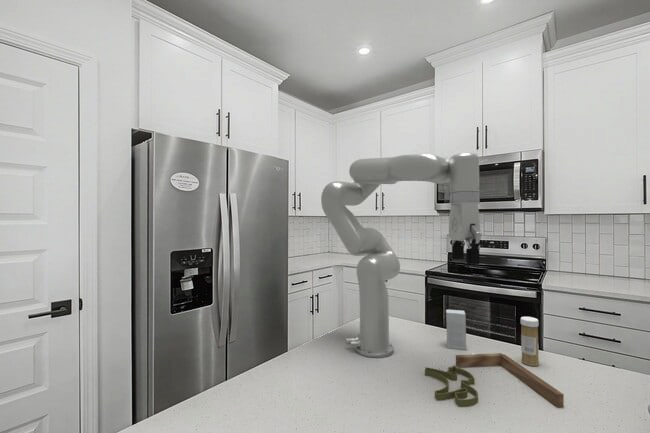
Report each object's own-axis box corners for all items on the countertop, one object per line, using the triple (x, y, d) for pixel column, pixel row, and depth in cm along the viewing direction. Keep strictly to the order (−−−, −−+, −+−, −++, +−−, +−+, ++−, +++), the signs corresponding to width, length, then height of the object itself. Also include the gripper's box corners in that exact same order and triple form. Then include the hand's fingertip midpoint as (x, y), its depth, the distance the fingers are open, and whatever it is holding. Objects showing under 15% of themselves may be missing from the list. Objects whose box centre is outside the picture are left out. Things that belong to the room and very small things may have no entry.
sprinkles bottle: (541, 364, 97) (541, 318, 97) (534, 368, 95) (534, 321, 95) (525, 358, 101) (525, 315, 101) (518, 362, 99) (517, 317, 99)
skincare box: (465, 345, 112) (464, 310, 112) (466, 350, 108) (465, 314, 108) (446, 343, 114) (446, 309, 114) (446, 348, 110) (446, 312, 110)
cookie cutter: (422, 371, 95) (422, 364, 95) (466, 373, 93) (465, 366, 93) (437, 407, 77) (437, 398, 77) (490, 410, 75) (490, 401, 75)
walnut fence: (502, 410, 74) (502, 397, 74) (455, 365, 97) (455, 355, 97) (563, 407, 76) (563, 394, 76) (502, 363, 98) (502, 353, 98)
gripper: (439, 200, 99) (440, 257, 99) (463, 197, 81) (464, 266, 81) (464, 200, 99) (465, 257, 99) (494, 197, 81) (494, 266, 81)
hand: (465, 261), depth 90 cm, fingers open, 9 cm apart
